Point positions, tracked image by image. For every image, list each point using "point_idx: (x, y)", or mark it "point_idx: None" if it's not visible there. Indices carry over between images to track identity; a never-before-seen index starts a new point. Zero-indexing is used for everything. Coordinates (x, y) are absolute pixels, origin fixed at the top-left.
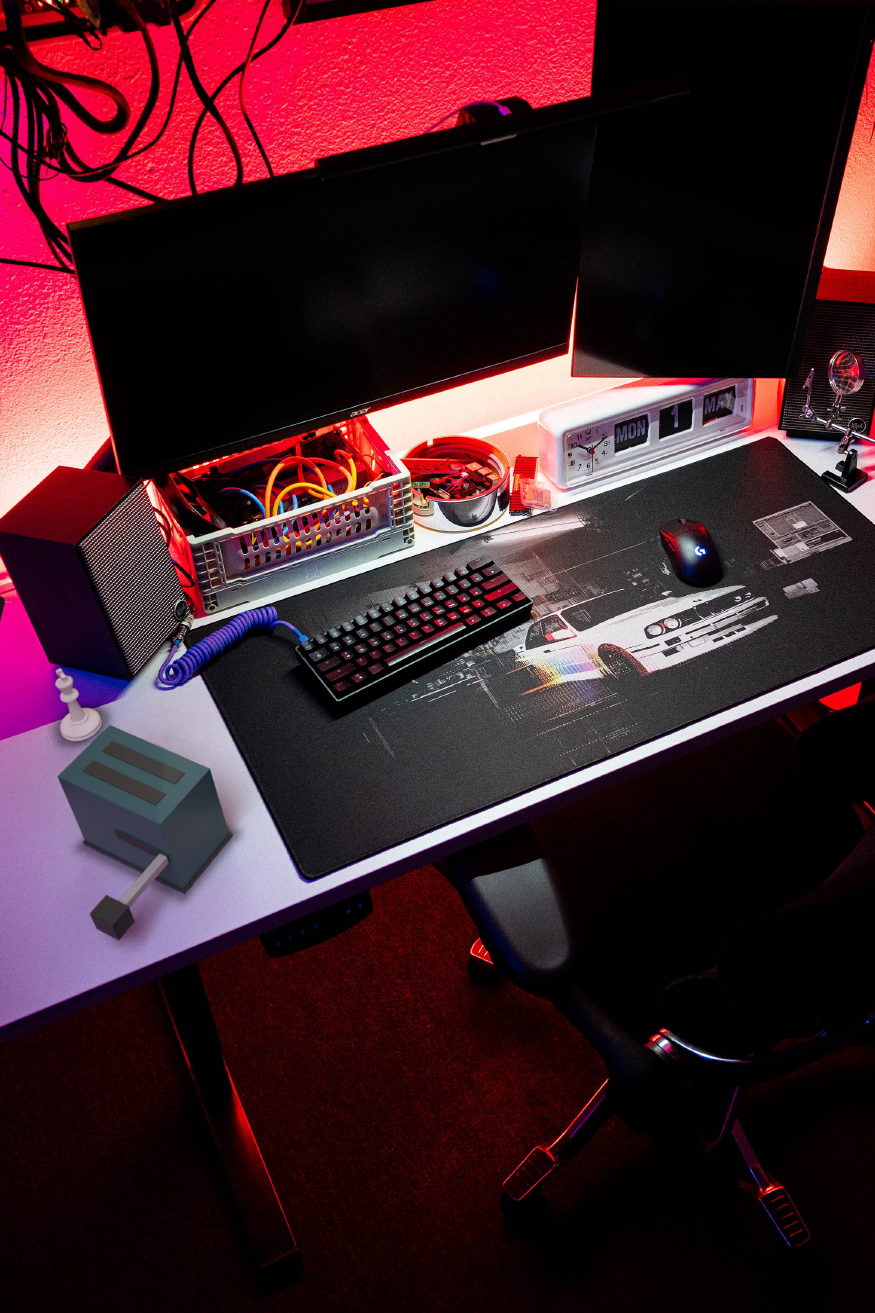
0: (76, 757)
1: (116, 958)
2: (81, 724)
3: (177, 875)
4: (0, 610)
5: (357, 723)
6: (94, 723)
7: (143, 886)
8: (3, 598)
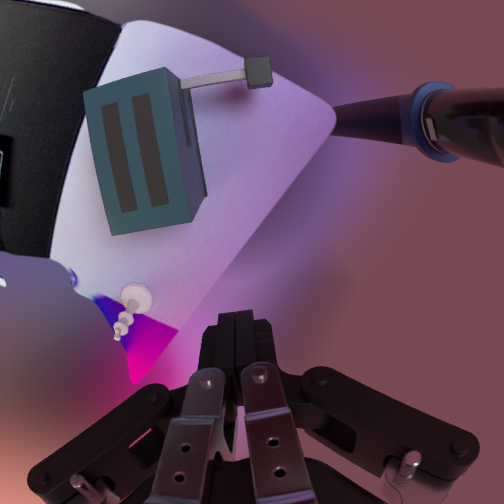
0: (161, 226)
1: None
2: (135, 296)
3: None
4: (55, 460)
5: (7, 122)
6: (128, 289)
7: (217, 73)
8: (29, 478)
